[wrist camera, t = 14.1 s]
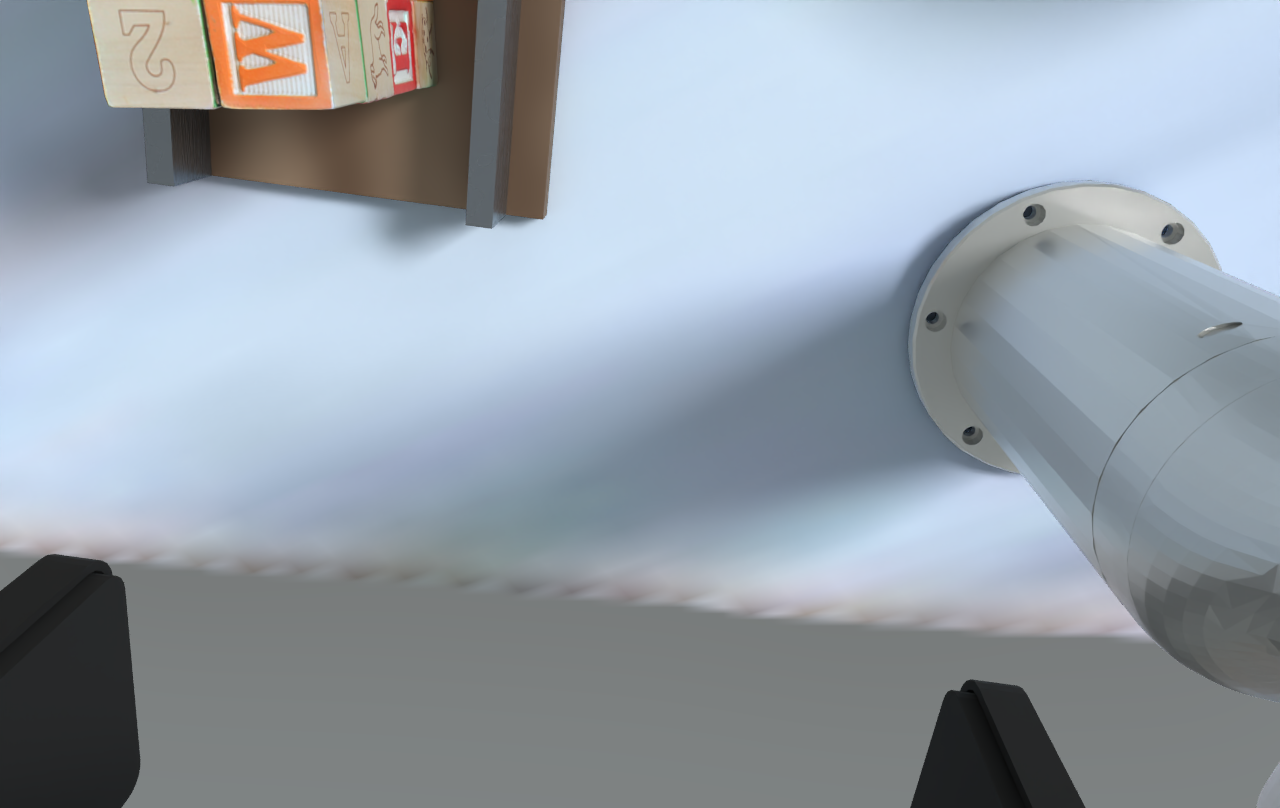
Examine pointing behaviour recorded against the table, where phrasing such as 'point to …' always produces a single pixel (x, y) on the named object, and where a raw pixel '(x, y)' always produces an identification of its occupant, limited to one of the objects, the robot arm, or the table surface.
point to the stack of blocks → (262, 52)
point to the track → (403, 125)
